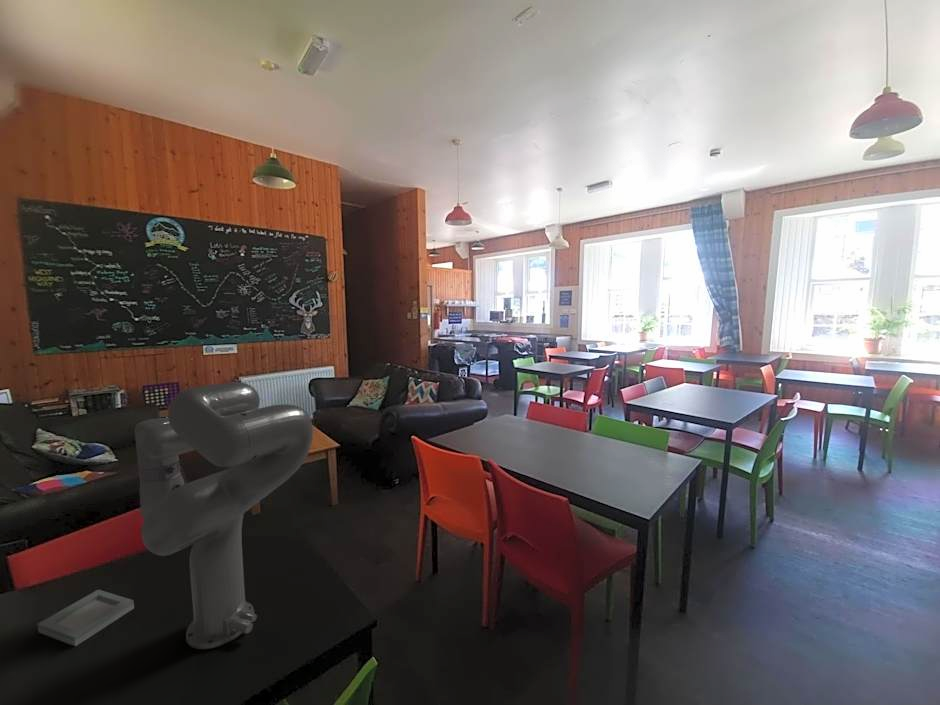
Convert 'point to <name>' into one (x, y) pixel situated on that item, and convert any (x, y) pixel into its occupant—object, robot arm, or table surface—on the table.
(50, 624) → the base
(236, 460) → the robot arm
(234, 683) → the table surface
